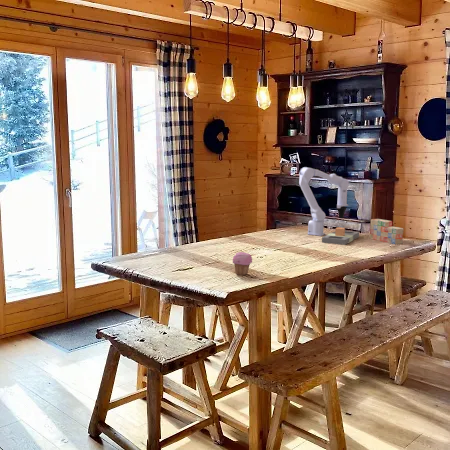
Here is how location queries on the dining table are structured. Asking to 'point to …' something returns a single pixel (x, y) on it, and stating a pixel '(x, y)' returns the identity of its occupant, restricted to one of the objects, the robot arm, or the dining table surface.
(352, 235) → the trap deck
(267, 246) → the dining table surface
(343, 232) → the block
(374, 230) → the stack of blocks
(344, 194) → the robot arm
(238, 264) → the cupcake
